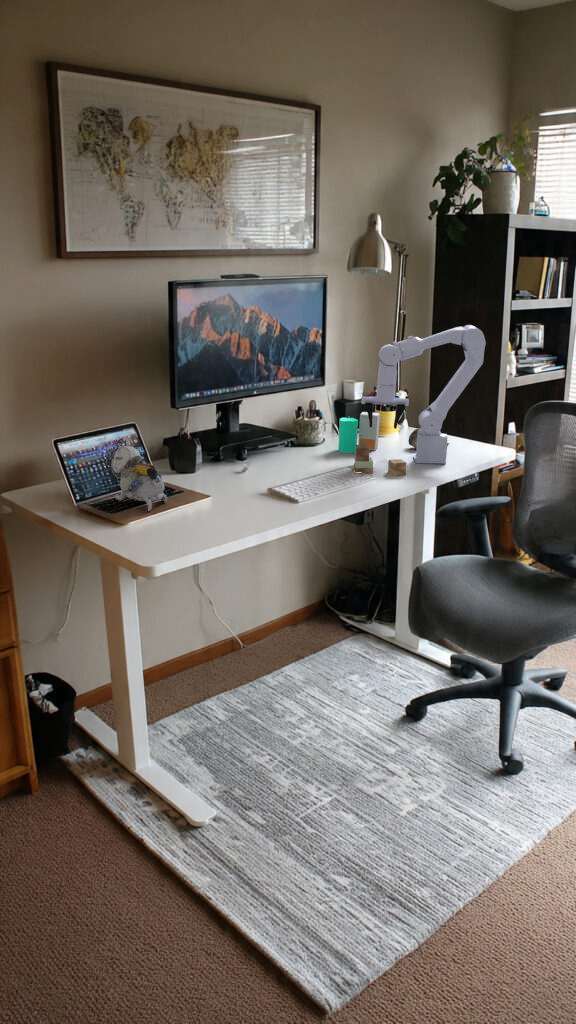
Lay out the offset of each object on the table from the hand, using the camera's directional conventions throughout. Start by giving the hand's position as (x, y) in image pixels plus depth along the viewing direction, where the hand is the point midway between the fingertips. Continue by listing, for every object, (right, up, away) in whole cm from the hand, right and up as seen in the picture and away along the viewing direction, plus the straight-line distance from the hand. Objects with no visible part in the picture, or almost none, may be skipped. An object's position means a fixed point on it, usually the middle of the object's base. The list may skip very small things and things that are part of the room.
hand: (382, 427), depth 263 cm
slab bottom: (-7, -15, -9) cm, 19 cm away
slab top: (-7, -13, -10) cm, 18 cm away
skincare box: (-3, -6, +16) cm, 17 cm away
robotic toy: (-69, -25, -43) cm, 85 cm away
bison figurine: (+17, -7, +15) cm, 23 cm away
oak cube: (+3, -15, -12) cm, 19 cm away
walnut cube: (-7, -11, -11) cm, 17 cm away
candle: (-10, -6, +13) cm, 18 cm away
